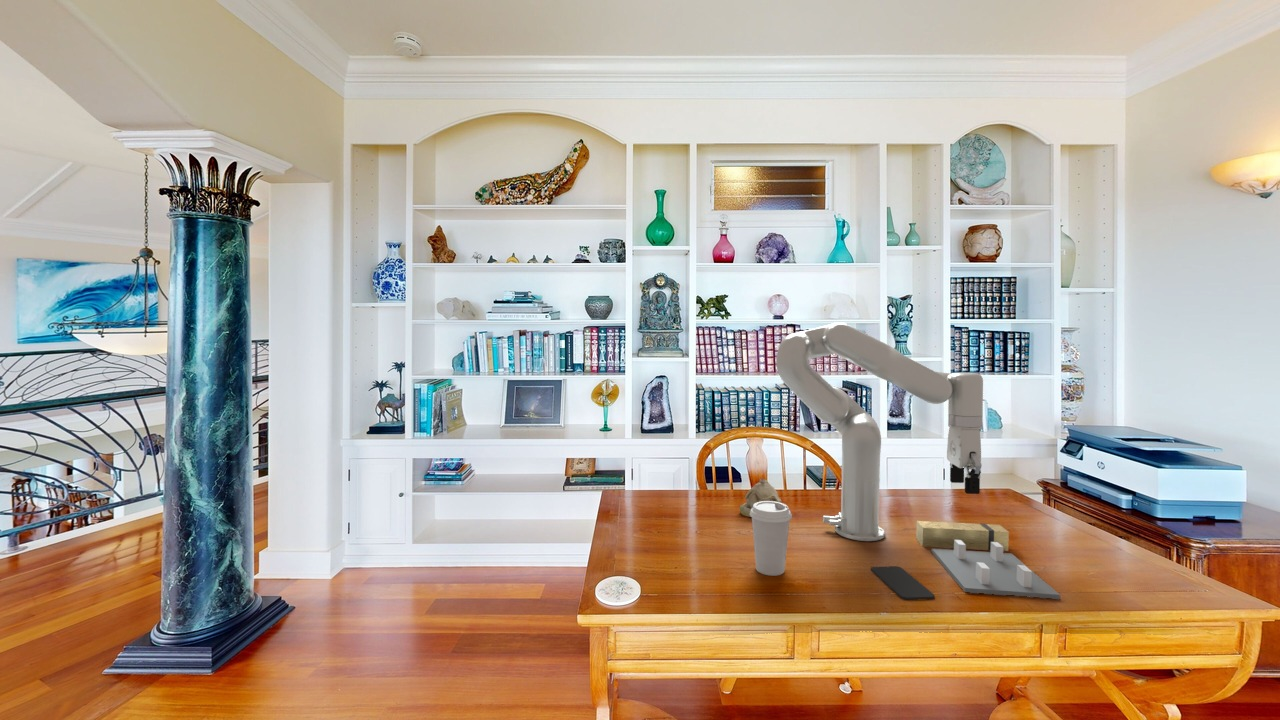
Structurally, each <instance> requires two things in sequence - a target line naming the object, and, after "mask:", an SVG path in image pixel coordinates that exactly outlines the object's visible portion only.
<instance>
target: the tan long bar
mask: <svg viewBox="0 0 1280 720" xmlns="http://www.w3.org/2000/svg"><path fill="white" fill-rule="evenodd" d="M915 535H916V538H915V539H916V541H918V543H919V544H920V545H921V546H922V547H924V548H925V547H927V548H941V547H943V548H942V549H954V540H961V541H962V542H963V543H964V544H965V545H966V550H975V551H976V550H977V551H980V550H981V551H982V550H983V551H990V550H991V542H998V543H999V544H1000V545H1002V546H1003V552H1009V541H1010V540H1009V539H1010V531H1009V530H1007V529H1006V528H1005V527H1003V525H1001V524H989V523H984V522H981V523H969V522H968V523H966V522H951V521H950V522H946V521H931V520H930V521H928V520H926V521H925V520H916V534H915Z"/></svg>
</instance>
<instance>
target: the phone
mask: <svg viewBox="0 0 1280 720" xmlns="http://www.w3.org/2000/svg"><path fill="white" fill-rule="evenodd" d="M870 571H871V572H872V573H873V574H874V575H875V576H876V577H879V578H878V579H880V581H881V582H883V583H884V585H886V586H887V587H888V588H889V589H890V590H891V591H892V592H893V591H894V592H895V593H896V594H895V595H896V596H897V597H899V599H901V600H903V601H917V600H918V599H926V600H934V599H935V597H936V596H935V594H934V593H933V592H932V591H931V590H929V589H928V588H927V587H925V586H924V585H923V584H922V583H921V582H919V581H918V580H917V579H916V578H915V577H913V576H912V575H911V574H910V573H909V572H907V571H906V570H905V569H904V568H902V567H901V566H897V565H896V566H894V565H892V566H889V565H888V566H871V568H870ZM894 592H893V593H894Z"/></svg>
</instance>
